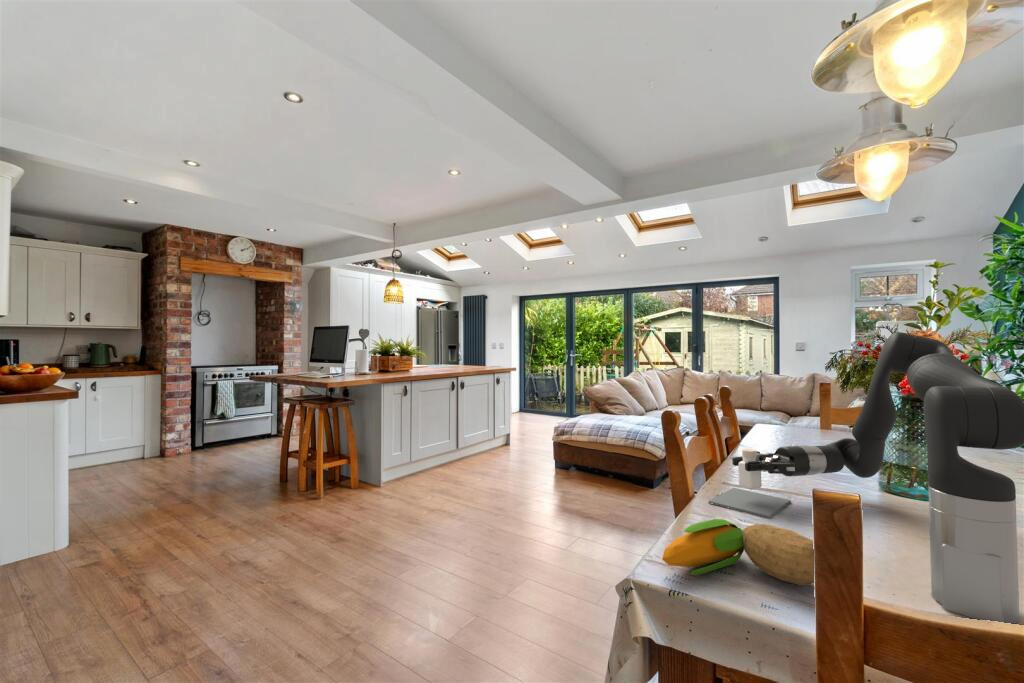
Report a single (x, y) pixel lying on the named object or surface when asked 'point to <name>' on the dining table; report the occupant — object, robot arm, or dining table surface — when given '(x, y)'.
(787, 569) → the potato
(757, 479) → the pepper shaker
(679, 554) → the corn
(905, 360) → the robot arm
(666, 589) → the dining table surface
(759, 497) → the slate mat
